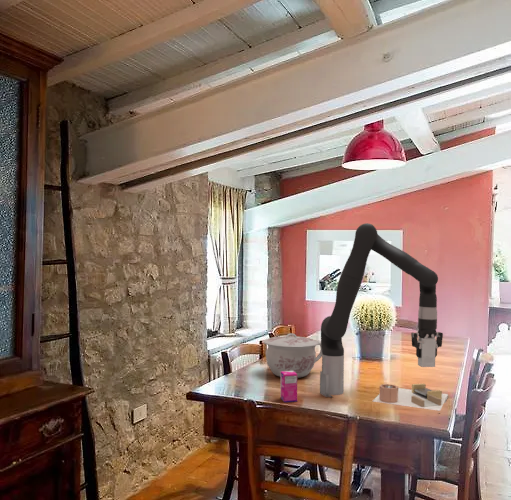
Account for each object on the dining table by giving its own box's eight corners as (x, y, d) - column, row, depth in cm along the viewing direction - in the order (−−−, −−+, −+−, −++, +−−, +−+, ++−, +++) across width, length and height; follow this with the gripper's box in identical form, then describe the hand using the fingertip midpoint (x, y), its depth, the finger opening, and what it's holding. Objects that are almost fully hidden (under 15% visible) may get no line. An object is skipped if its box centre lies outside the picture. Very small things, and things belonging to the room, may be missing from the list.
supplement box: (279, 398, 218) (280, 371, 218) (293, 397, 220) (293, 370, 220) (283, 402, 213) (284, 374, 213) (297, 401, 214) (298, 373, 214)
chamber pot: (254, 378, 251) (254, 335, 251) (273, 367, 277) (274, 327, 277) (311, 385, 241) (311, 339, 241) (325, 372, 267) (326, 331, 267)
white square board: (372, 404, 212) (372, 392, 212) (386, 389, 235) (386, 378, 235) (440, 413, 200) (440, 401, 200) (448, 397, 224) (448, 386, 224)
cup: (385, 403, 209) (385, 389, 209) (376, 398, 216) (377, 384, 216) (400, 401, 211) (401, 388, 211) (391, 397, 218) (391, 383, 218)
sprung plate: (425, 396, 216) (425, 394, 216) (414, 390, 224) (414, 389, 224) (438, 395, 218) (438, 393, 218) (426, 390, 226) (426, 388, 226)
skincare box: (431, 365, 223) (431, 336, 223) (435, 367, 219) (436, 338, 219) (417, 365, 223) (417, 336, 223) (421, 367, 218) (422, 338, 218)
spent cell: (387, 400, 212) (387, 386, 212) (383, 398, 215) (384, 384, 215) (393, 399, 213) (393, 386, 213) (390, 398, 215) (390, 384, 215)
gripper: (417, 318, 215) (416, 359, 215) (447, 318, 219) (446, 358, 219) (407, 316, 222) (406, 356, 222) (436, 316, 226) (435, 355, 226)
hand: (426, 357), depth 221 cm, fingers closed on skincare box, 6 cm apart
